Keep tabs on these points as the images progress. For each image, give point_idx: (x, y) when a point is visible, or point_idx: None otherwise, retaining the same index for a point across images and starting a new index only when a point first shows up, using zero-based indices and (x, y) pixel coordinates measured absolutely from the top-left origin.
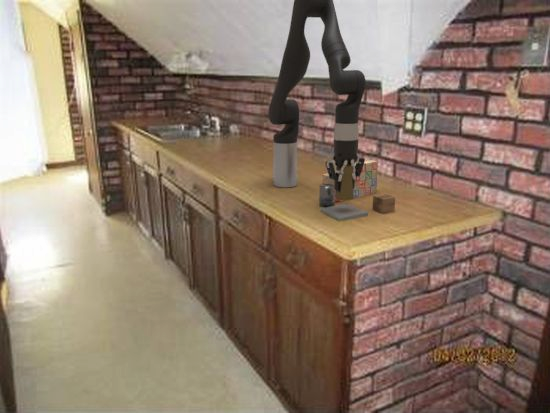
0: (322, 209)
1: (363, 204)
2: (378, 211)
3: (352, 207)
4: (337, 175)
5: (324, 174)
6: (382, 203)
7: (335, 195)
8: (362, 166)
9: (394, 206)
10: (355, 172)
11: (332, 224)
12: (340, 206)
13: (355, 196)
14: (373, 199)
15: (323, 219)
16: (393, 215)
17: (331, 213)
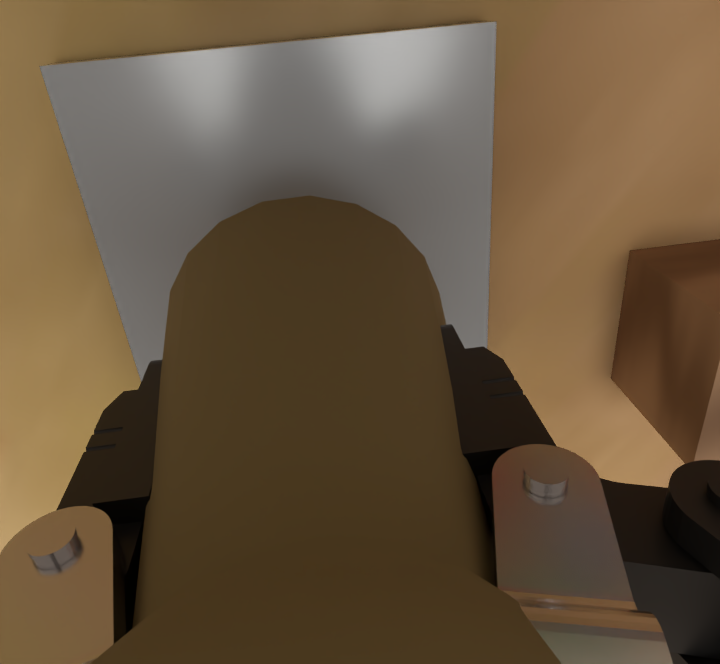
0: (60, 119)
1: (703, 31)
2: (621, 336)
3: (451, 197)
4: (82, 640)
5: None
6: (665, 433)
7: (168, 309)
8: None
9: None
10: (708, 607)
11: (71, 458)
12: (342, 99)
13: None
14: (698, 306)
15: (21, 328)
16: (652, 432)
17: (125, 295)
